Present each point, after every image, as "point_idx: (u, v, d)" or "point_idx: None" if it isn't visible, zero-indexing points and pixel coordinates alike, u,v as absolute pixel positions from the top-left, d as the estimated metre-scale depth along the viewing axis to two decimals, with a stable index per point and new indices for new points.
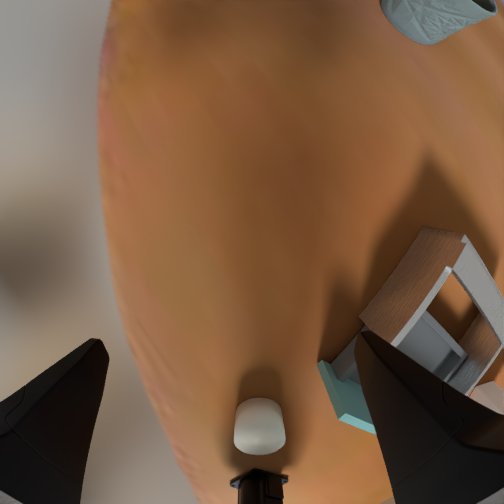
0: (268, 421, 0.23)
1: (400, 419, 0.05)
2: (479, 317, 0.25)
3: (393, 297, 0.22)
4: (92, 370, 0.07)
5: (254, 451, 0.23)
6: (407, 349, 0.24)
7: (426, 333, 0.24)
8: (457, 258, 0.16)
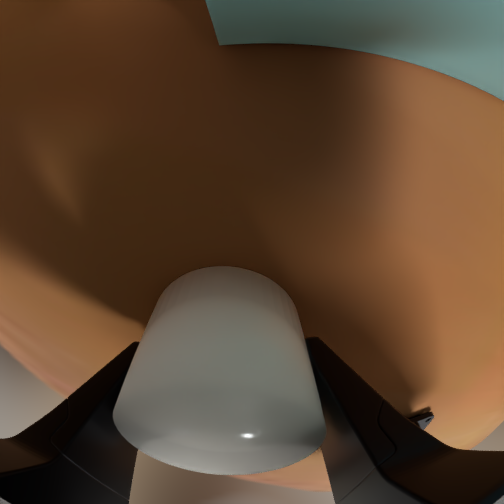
0: (162, 360, 0.05)
1: (335, 435, 0.05)
2: None
3: None
4: None
5: (251, 468, 0.06)
6: None
7: None
8: None
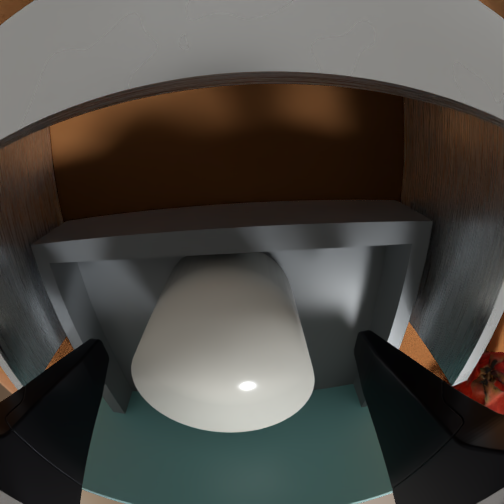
0: (178, 309, 0.07)
1: (400, 419, 0.05)
2: None
3: None
4: (92, 370, 0.07)
5: (250, 422, 0.08)
6: None
7: None
8: None
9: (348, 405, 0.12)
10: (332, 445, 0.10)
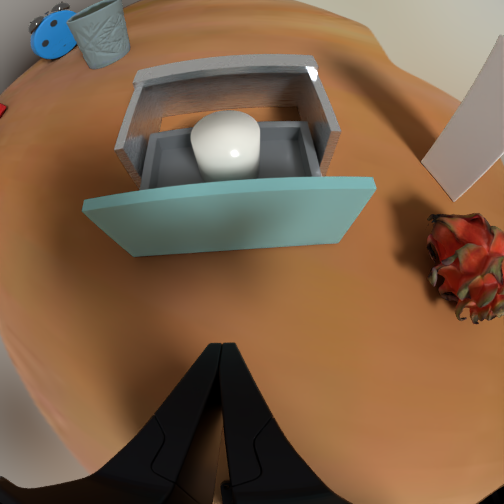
0: None
1: None
2: (299, 107, 0.27)
3: None
4: None
5: (235, 149, 0.18)
6: None
7: None
8: (135, 78, 0.20)
9: None
10: None
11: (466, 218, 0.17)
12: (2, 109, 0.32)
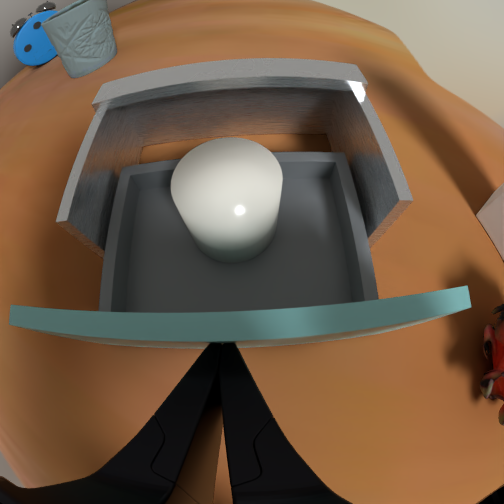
0: None
1: None
2: (330, 137, 0.20)
3: None
4: None
5: (242, 211, 0.12)
6: None
7: None
8: (96, 97, 0.13)
9: None
10: None
11: None
12: None
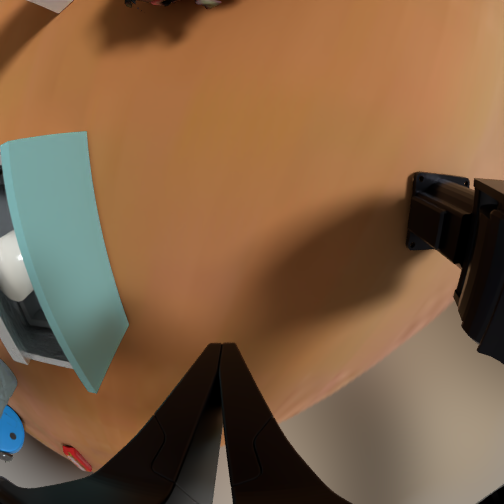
0: None
1: None
2: None
3: None
4: None
5: (15, 263, 0.14)
6: None
7: None
8: None
9: None
10: None
11: None
12: (65, 448, 0.38)
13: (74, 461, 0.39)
